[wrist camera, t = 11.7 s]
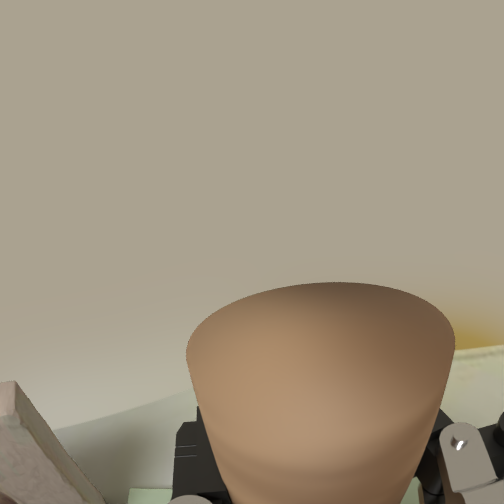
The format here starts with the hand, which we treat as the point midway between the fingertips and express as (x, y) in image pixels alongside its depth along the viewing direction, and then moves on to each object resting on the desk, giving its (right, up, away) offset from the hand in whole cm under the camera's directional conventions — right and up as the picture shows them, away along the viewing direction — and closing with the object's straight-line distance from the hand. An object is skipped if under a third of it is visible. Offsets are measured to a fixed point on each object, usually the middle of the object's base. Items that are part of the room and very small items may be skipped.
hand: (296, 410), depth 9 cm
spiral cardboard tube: (+1, -7, -1) cm, 7 cm away
